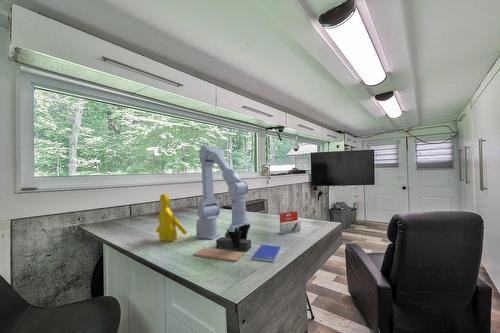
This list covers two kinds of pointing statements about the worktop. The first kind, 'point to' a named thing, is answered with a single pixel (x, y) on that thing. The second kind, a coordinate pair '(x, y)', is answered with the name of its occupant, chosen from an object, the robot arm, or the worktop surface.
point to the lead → (227, 244)
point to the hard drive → (266, 253)
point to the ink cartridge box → (289, 223)
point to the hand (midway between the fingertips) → (239, 244)
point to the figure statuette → (167, 221)
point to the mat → (219, 254)
